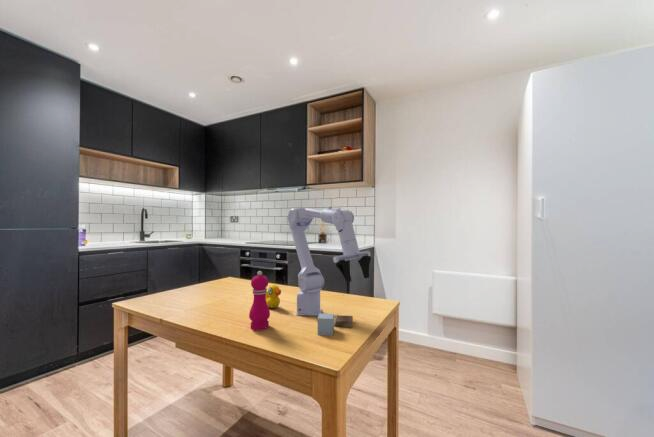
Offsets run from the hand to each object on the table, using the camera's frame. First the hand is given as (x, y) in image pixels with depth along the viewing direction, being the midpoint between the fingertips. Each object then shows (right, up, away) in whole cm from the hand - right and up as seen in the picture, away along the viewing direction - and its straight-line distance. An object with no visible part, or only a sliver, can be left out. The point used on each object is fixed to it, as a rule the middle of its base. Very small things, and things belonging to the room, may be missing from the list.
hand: (358, 279), depth 95 cm
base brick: (-4, -17, +6) cm, 19 cm away
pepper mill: (-35, -18, +3) cm, 39 cm away
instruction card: (-10, -17, +8) cm, 22 cm away
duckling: (-35, -18, +25) cm, 46 cm away
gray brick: (-11, -17, -1) cm, 21 cm away
